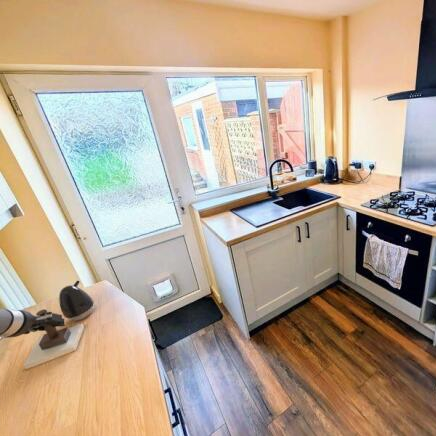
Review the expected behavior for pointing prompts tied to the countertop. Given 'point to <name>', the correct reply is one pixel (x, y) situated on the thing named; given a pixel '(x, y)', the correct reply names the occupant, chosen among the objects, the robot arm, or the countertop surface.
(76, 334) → the tile
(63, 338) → the brown peg on base
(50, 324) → the robot arm
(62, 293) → the black pear
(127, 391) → the countertop surface
